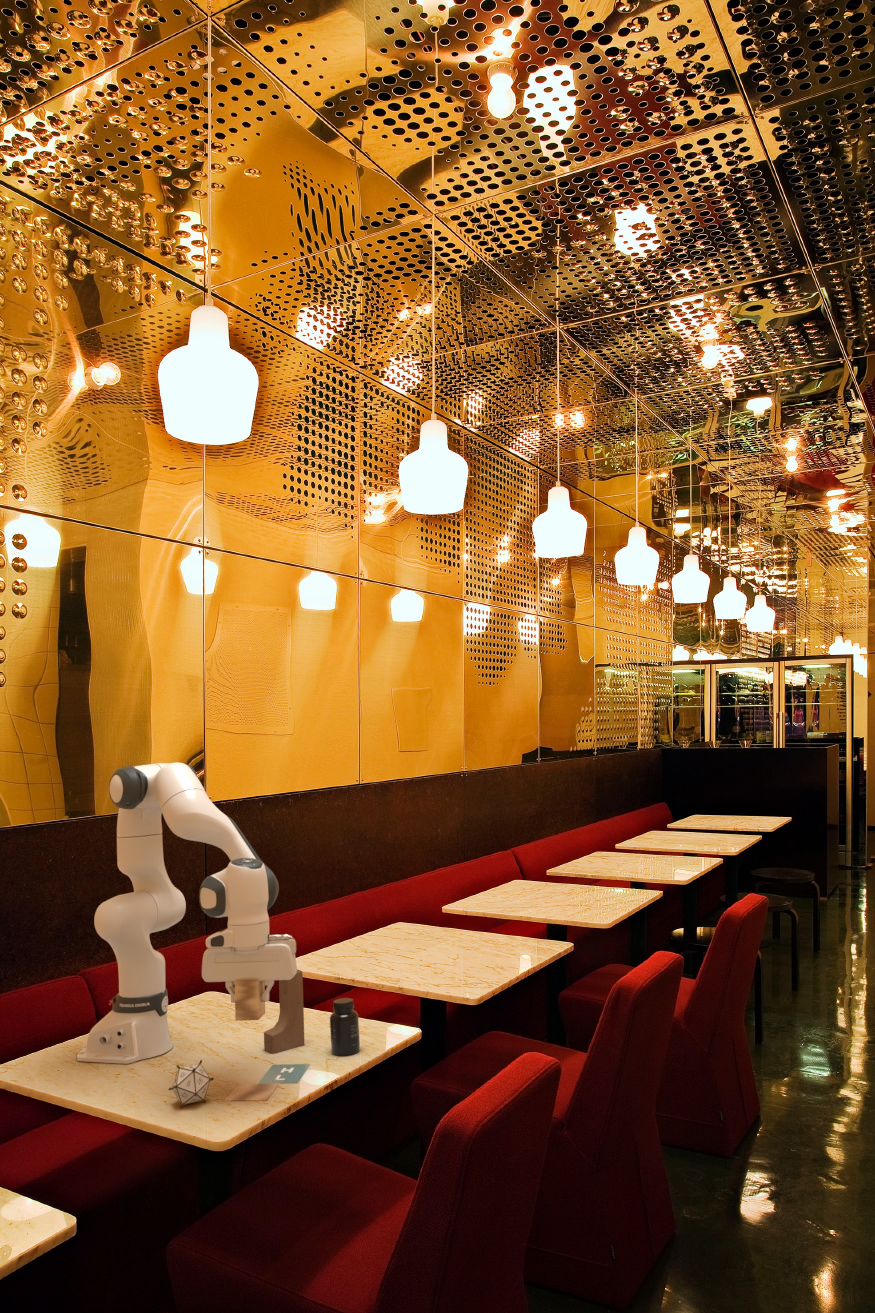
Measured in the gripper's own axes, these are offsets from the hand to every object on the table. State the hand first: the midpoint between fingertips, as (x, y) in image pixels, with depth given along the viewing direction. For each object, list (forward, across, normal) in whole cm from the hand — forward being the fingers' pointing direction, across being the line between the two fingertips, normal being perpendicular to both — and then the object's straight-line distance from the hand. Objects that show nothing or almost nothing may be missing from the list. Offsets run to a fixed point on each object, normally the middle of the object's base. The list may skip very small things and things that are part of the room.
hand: (250, 1002), depth 186 cm
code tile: (+19, -4, -11) cm, 22 cm away
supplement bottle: (+19, -15, -25) cm, 35 cm away
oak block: (+3, 0, 0) cm, 3 cm away
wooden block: (+19, +1, -29) cm, 35 cm away
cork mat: (+19, 0, 0) cm, 19 cm away
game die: (+19, +11, +5) cm, 23 cm away
